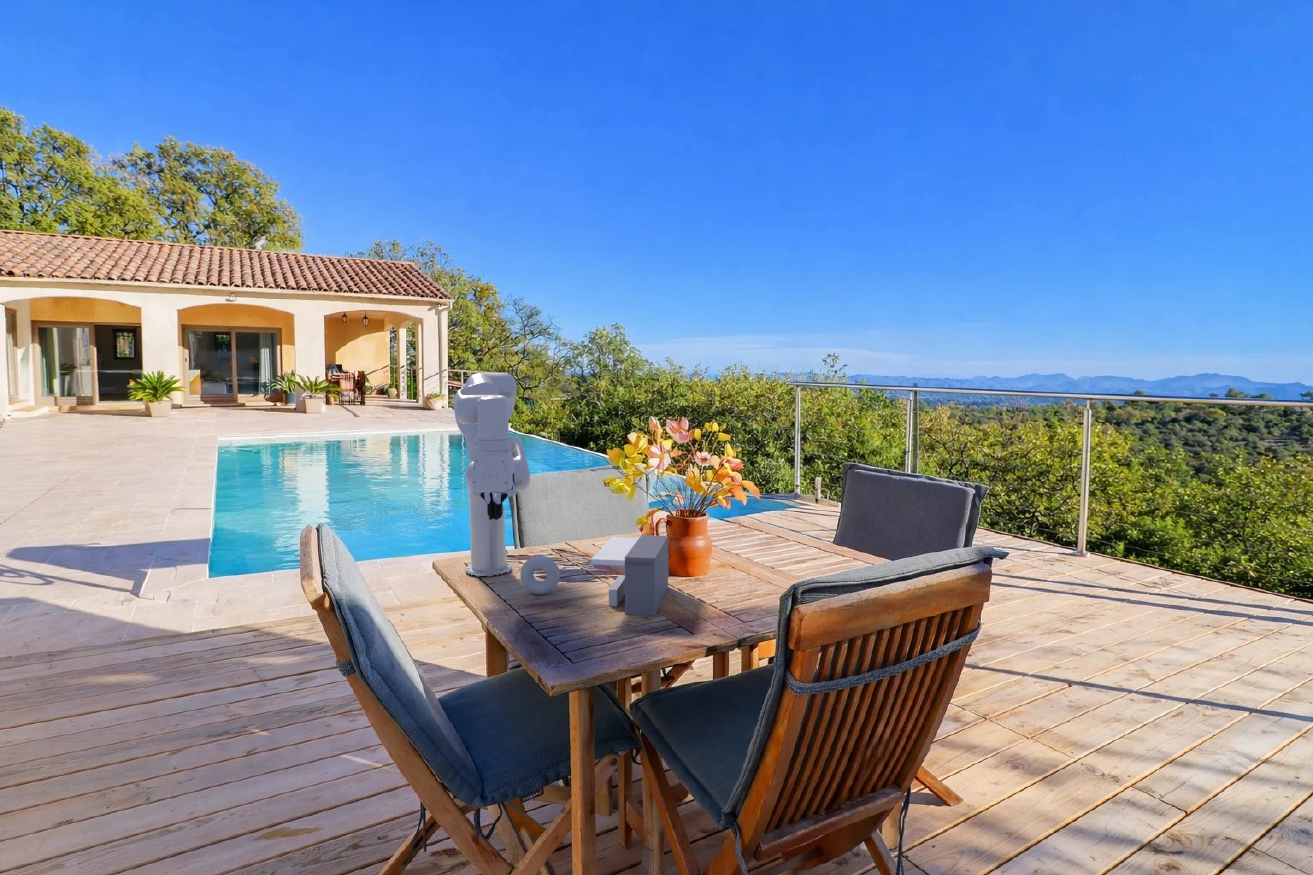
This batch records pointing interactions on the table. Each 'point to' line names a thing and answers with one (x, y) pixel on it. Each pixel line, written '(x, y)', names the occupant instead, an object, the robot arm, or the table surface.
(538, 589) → the donut
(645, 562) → the ledge cabinet
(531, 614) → the table surface
